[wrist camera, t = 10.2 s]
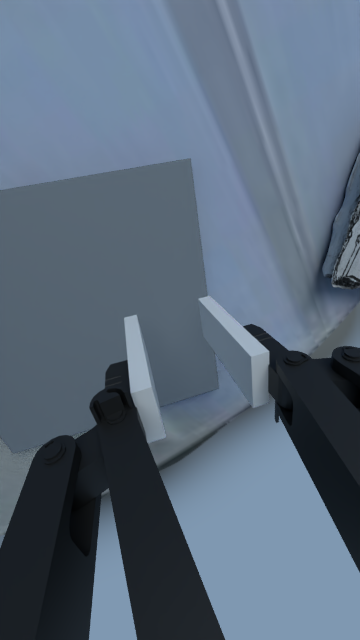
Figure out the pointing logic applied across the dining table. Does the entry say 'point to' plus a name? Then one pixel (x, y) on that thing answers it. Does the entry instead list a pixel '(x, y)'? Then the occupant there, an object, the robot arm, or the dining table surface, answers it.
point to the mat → (97, 294)
